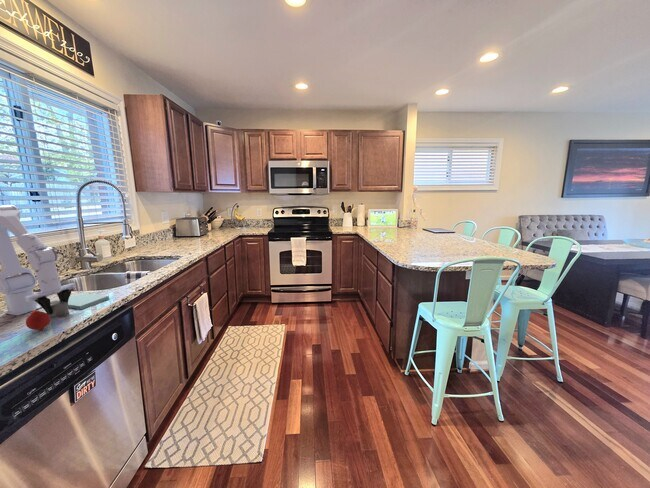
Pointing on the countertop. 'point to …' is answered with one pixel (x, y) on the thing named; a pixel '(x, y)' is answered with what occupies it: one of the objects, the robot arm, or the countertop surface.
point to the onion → (37, 320)
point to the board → (85, 300)
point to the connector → (59, 309)
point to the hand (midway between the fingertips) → (57, 311)
